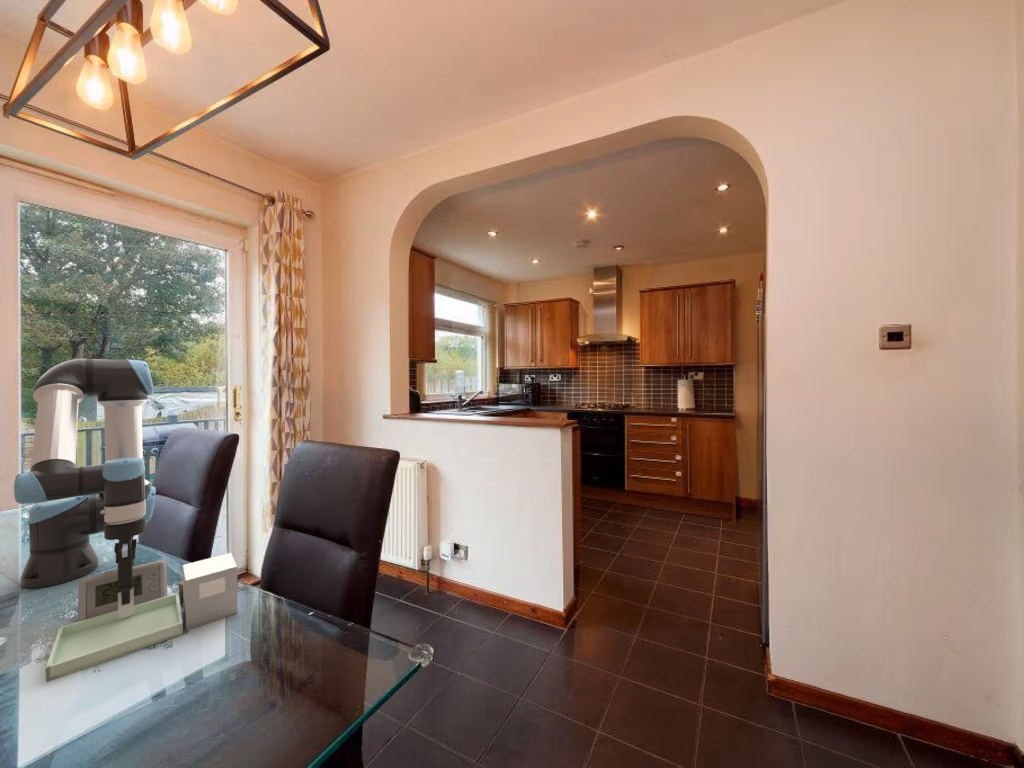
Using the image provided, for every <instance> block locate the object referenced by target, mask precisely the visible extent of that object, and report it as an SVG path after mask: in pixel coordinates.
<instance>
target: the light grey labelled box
mask: <svg viewBox="0 0 1024 768" xmlns="http://www.w3.org/2000/svg"><path fill="white" fill-rule="evenodd" d="M182 581H183V603H182V605H183V607H182V608H183V617H184V623H185V624H184V625H185V629H186V630H185V631H189V630H192V629H194V628H198V627H200V626H204V625H206V624H210V623H213V622H216V621H219V620H221V619H224V618H227V617H230V616H233V615H236V614H238V612H239V611H238V608H239V607H238V565H237V564H236V561H235V559H234V556H233V554H232V552H228V553H225V554H221V555H217V556H213V557H208V558H204V559H200V560H197V561H194V562H190V563H185V564H183V565H182ZM235 613H236V614H235Z"/></svg>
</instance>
